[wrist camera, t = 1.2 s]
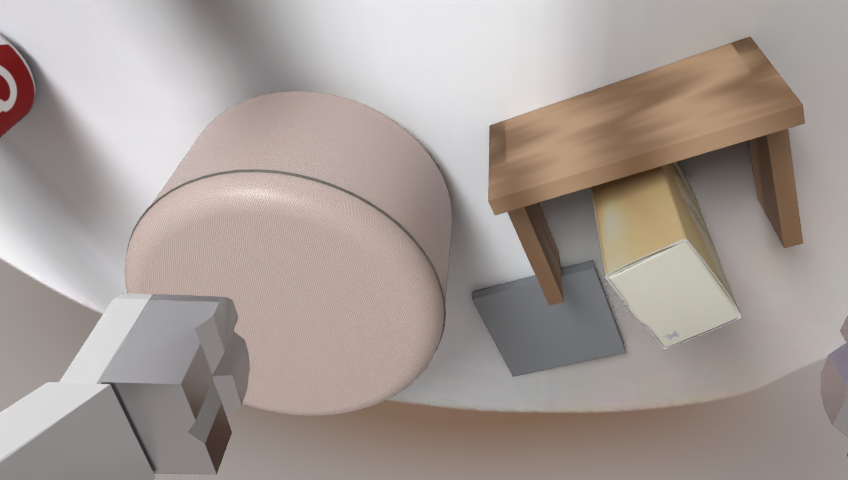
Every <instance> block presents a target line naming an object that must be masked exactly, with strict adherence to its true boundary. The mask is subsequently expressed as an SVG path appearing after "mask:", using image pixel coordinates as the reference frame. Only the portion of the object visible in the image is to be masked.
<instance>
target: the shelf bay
mask: <svg viewBox="0 0 848 480" xmlns="http://www.w3.org/2000/svg"><path fill="white" fill-rule="evenodd" d="M801 124H805V120H804V111H803V105H802V103H801V102H800V101H799V99H798V98H797V97H796V95H795V94H794V93H793V92H792V90H791V89H790V88H789V86H788V85H787V84H786V82H785V81H784V80H783V79H782V77H781V76H780V75H779V73H778V72H777V71H776V69H775V68H774V67H773V65H772V64H771V63H770V62H769V60H768V59H767V58H766V56H765V55H764V54H763V52H762V51H761V50H760V49H759V47H758V46H757V45H756V43H755V42H754V41H753V39H752V38H751V37H748V38H745V39H742V40H739V41H736V42H733V43H730V44H727V45H724V46H722V47H719V48H716V49H713V50H710V51H707V52H704V53H701V54H698V55H695V56H692V57H689V58H686V59H683V60H681V61H678V62H675V63H672V64H669V65H666V66H663V67H660V68H657V69H654V70H651V71H648V72H645V73H643V74H640V75H637V76H634V77H631V78H628V79H625V80H622V81H619V82H616V83H613V84H610V85H607V86H605V87H602V88H599V89H596V90H593V91H590V92H587V93H584V94H581V95H578V96H575V97H572V98H569V99H567V100H564V101H561V102H558V103H555V104H552V105H549V106H546V107H543V108H540V109H537V110H534V111H531V112H528V113H526V114H523V115H520V116H517V117H514V118H511V119H508V120H505V121H502V122H499V123H496V124H493V125H490V136H489V190H488V201H489V203H490V206H491V208H492V210H493V212H494V214H495V215H498V214H501V213H505V212H508V214H509V216H510V219H511V221H512V223H513V225H514V228H515V230H516V232H517V234H518V237H519V239H520V241H521V244H522V246H523V248H524V250H525V253H526V255H527V257H528V259H529V262H530V264H531V266H532V268H533V271H534V273H535V275H536V277H537V280H538V282H539V284H540V286H541V289H542V291H543V293H544V296H545V298H546V300H547V302H548V305H549V306H550V305H554V304H558V303H562V302H564V296H563V287H562V278H561V269H560V260H559V252H558V250H557V247H556V245H555V242H554V240H553V237H552V235H551V232H550V230H549V227H548V225H547V222H546V220H545V217H544V215H543V213H542V210H541V208H540V205H539V203H538V202H542V201H545V200H549V199H552V198H555V197H559V196H562V195H565V194H569V193H572V192H576V191H579V190H582V189H586V188H589V187H592V186H596V185H599V184H602V183H606V182H609V181H613V180H616V179H619V178H623V177H626V176H629V175H633V174H636V173H640V172H643V171H646V170H650V169H653V168H656V167H660V166H663V165H666V164H670V163H673V162H677V161H680V160H683V159H687V158H690V157H693V156H697V155H700V154H704V153H707V152H710V151H714V150H717V149H720V148H724V147H727V146H730V145H734V144H737V143H741V142H744V141H747V140H748V144H749V150H750V156H751V162H752V167H753V173H754V179H755V185H756V190H757V196H758V200H759V201H760V203H761V205H762V207H763V209H764V211H765V213H766V215H767V217H768V218H769V220H770V222H771V224H772V226H773V228H774V230H775V232H776V234H777V235H778V237H779V239H780V241H781V243H782V245H783V247H784V248H786V247H790V246H794V245H798V244H802V243H803V239H802V232H801V224H800V217H799V209H798V202H797V194H796V187H795V179H794V172H793V164H792V157H791V149H790V142H789V134H788V128H791V127H794V126H798V125H801Z"/></svg>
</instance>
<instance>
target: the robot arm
mask: <svg viewBox="0 0 848 480" xmlns="http://www.w3.org/2000/svg"><path fill="white" fill-rule="evenodd" d="M238 318H239V317H238V314H237V311H236V308H235V305H234V302H233V300H232V299H229V298H227V297H219V296H196V295H173V294H157V295H152V294H132V293H123V294H121V295H119V296H118V297H116V298H114V299H113V300H112V302H111V303H110V305H109V306H108V308H107V309H106V311H105V312H104V314H103V315H102V317H101V319H100V320H99V322H98V323H97V325H96V326H95V328H94V329H93V331H92V332H91V334H90V335H89V337H88V338H87V340H86V341H85V343H84V345H83V346H82V348H81V349H80V351H79V352H78V354H77V355H76V357H75V358H74V360H73V361H72V363H71V364H70V366H69V368H68V369H67V370H66V372H65V374H64V375H63V377H62V378H61V380H60V381H59V382H47V383H46V384H44V385H43V386H41V387H40V388H38V389H36V390H35V391H33V392H32V393H30V394H29V395H27V396H25V397H24V398H22V399H21V400H19V401H18V402H16V403H14V404H13V405H11V406H10V407H8V408H7V409H5V410H4V411H2V412H0V480H153V479H154V478H155V475H154V474H215V475H217V472H218V470H219V467H220V464H221V461H222V459H223V456H224V453H225V450H226V447H227V445H228V442H229V439H230V437H231V434H232V431H231V428H230V425H229V422H228V419H227V417H229V416H230V415H231V414H232V413H233V412H235V411H236V410H237V409H238V408H239V407H241V406H242V403H243V400H244V397H245V394H246V391H247V387H248V379H249V372H250V363H249V352H248V349H247V345H246V341H245V340H244V339H243V338H242V337H241V336H239V335H238V334H237V333H236V332H235V331H233V330H234V328H235V325H236V323H237V320H238ZM840 332H841V333H842V335H843V337H844V339H845V341H846V342H847V343H846V344H844V345H843V346H841V347H840V348H838V349H837V350H835V351H834V352H832V353H831V354H829V355H828V357H827V360H826V362H825V365H824V367H823V370H822V373H821V396H822V400H823V404H824V408H825V410H826V413H827V415H828V417H829V419H830V421H831V423H832V425H833V426H834V427H836V428H837V429H838V430H839V431H841V432H842V433H843V434H845V435H846V436H847V437H848V316H847V317H846V319H845V321H844V323H843V326H842V328H841V330H840ZM847 456H848V454H847Z"/></svg>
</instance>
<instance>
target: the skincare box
mask: <svg viewBox="0 0 848 480" xmlns="http://www.w3.org/2000/svg"><path fill="white" fill-rule="evenodd" d="M590 190H591V196H592V202H593V208H594V214H595V220H596V226H597V232H598V238H599V244H600V250H601V256H602V262H603V268H604V274H605V279H606V280H607V281H608V282H609V284H610V285H611V286H612V287H613V289H614V290H615V291H616V293H617V294H618V295H619V296H620V297H621V299H622V300H623V301H624V302H625V303H626V305H627V306H628V307H629V309H630V310H631V311H632V312H633V314H634V315H635V316H636V317H637V318H638V320H639V321H640V322H641V323H642V324H643V325H644V327H645V328H646V329H647V330H648V332H649V333H650V334H651V335H652V336H653V338H654V339H655V340H656V341H657V342H658V343H659V345H660V346H661V347H662V348H663V349H668V348H671V347H673V346H675V345H678V344H680V343H683V342H686V341H688V340H691V339H693V338H696V337H698V336H701V335H703V334H706V333H708V332H710V331H713V330H715V329H718V328H720V327H723V326H725V325H727V324H729V323H731V322H733V321H736V320H739V319H740V318H741V314H740V311H739V309H738V307H737V304H736V302H735V299H734V297H733V294H732V291H731V289H730V286H729V284H728V281H727V279H726V276H725V274H724V271H723V269H722V266H721V263H720V261H719V258H718V255H717V253H716V250H715V248H714V245H713V242H712V240H711V237H710V235H709V232H708V229H707V227H706V224H705V222H704V219H703V217H702V214H701V211H700V208H699V206H698V203H697V200H696V198H695V195H694V192H693V190H692V187H691V185H690V183H689V181H688V180H687V178H686V176H685V174H684V173H683V171H682V169H681V168H680V166H679V165H678V163H677V162H673V163H670V164H666V165H663V166H660V167H656V168H653V169H650V170H646V171H643V172H640V173H636V174H633V175H629V176H626V177H623V178H619V179H616V180H613V181H609V182H606V183H602V184H599V185H596V186H592V187H590Z"/></svg>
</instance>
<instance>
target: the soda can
mask: <svg viewBox="0 0 848 480" xmlns="http://www.w3.org/2000/svg"><path fill="white" fill-rule="evenodd" d="M35 98H36V86H35V81H34V78H33V75H32V72H31V70H30V68H29V66H28V64H27V63H26V61H25V59H24V58H23V57H22V55H21V54H20V53H19V52H18V50H17V49H16V48H15V47H14V46H13V45H12V44H11V43H10V42H9V41H8V40H6V39H5V38H4V37H3V36H1V35H0V137H1V136H2V135H3V134H5V133H6V132H7V131H8V130H9V129H10V128H12V127H13V126H14V125H15V124H16V123H17V122H18V121H20V120H21V119H22V118H23V117H24V116H25V115H26V114H28V113H29V111H30V110H31V109H32V107H33V105H34V102H35Z"/></svg>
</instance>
